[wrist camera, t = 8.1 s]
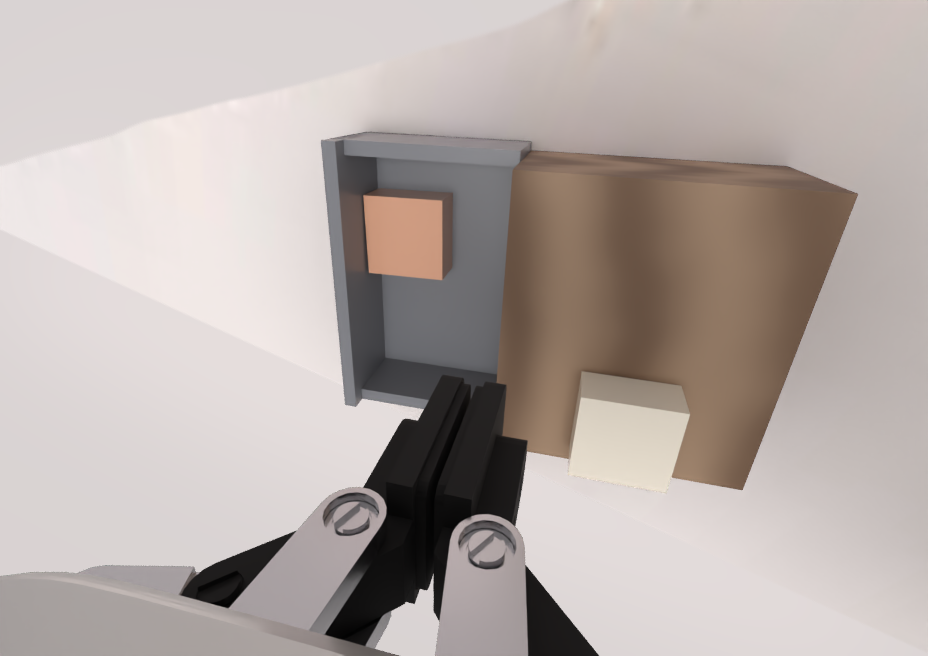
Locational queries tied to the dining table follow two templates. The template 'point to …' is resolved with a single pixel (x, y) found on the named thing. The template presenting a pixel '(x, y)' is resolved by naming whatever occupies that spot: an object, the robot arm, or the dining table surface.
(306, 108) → the dining table surface
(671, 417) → the cream tile
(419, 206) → the terracotta tile
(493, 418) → the robot arm
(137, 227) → the dining table surface
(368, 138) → the box
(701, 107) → the dining table surface
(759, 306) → the wooden box
